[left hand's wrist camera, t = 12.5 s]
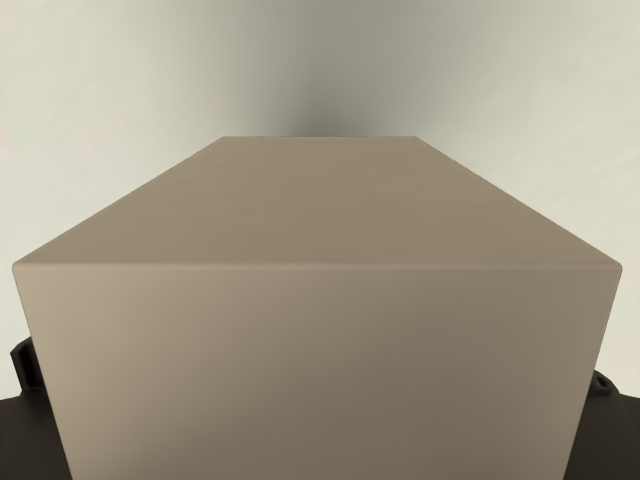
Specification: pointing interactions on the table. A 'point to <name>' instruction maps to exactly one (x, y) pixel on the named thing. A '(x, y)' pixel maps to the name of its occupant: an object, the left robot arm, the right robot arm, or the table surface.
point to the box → (317, 321)
